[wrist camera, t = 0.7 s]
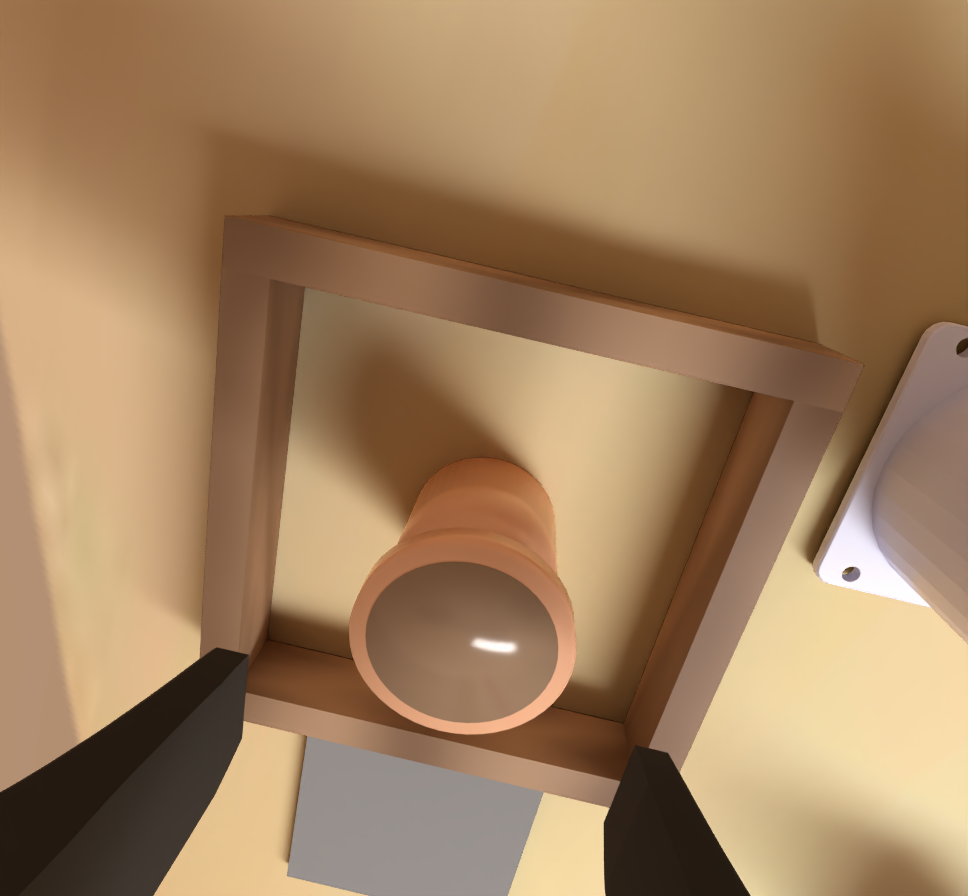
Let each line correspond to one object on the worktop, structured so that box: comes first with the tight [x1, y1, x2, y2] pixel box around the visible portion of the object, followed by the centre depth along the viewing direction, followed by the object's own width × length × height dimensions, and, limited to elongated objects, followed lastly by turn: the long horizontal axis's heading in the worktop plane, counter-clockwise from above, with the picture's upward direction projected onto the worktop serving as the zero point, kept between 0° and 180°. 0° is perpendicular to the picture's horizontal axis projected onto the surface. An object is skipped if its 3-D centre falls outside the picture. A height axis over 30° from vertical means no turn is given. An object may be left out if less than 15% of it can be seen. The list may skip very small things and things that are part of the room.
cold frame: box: [200, 216, 864, 808], centre depth 18 cm, size 15×15×2 cm
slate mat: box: [287, 736, 544, 896], centre depth 24 cm, size 9×9×1 cm
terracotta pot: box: [349, 457, 576, 734], centre depth 17 cm, size 5×5×6 cm
